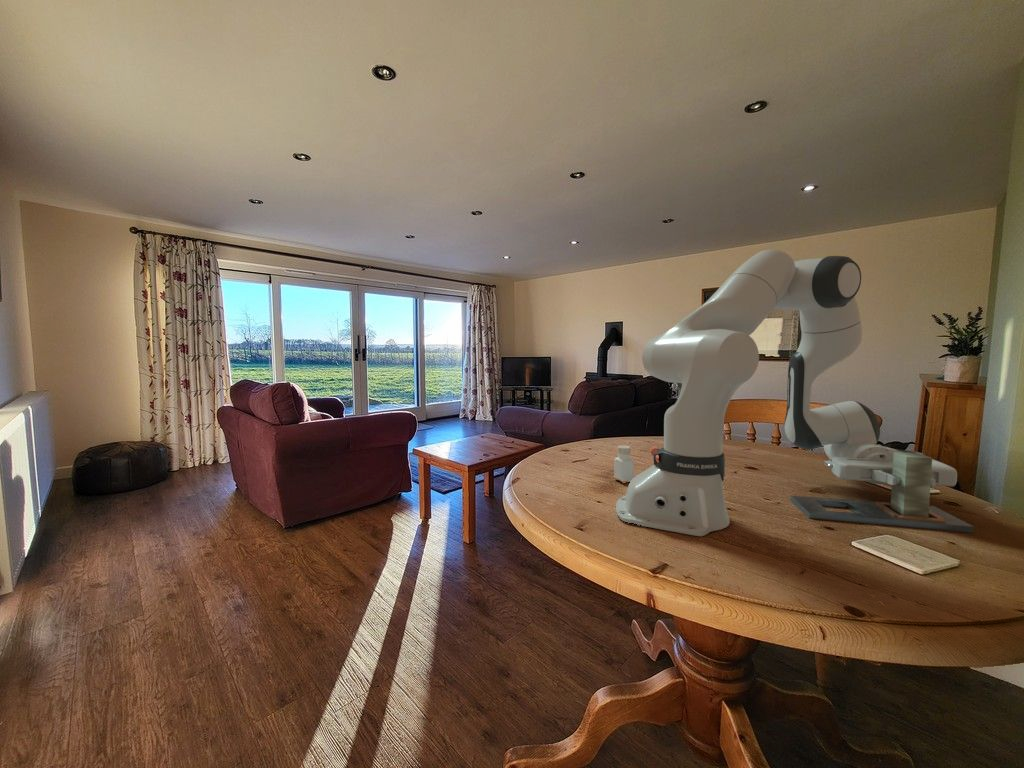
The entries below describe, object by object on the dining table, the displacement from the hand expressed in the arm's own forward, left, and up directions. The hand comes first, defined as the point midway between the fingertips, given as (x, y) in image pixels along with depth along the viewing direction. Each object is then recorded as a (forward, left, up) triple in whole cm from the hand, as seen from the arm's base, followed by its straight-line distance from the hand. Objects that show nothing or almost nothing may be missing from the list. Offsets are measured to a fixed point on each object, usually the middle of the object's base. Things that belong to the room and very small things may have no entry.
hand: (913, 482), depth 78 cm
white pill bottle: (-56, +11, -8) cm, 58 cm away
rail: (-6, +1, -8) cm, 10 cm away
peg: (0, +1, -7) cm, 7 cm away
